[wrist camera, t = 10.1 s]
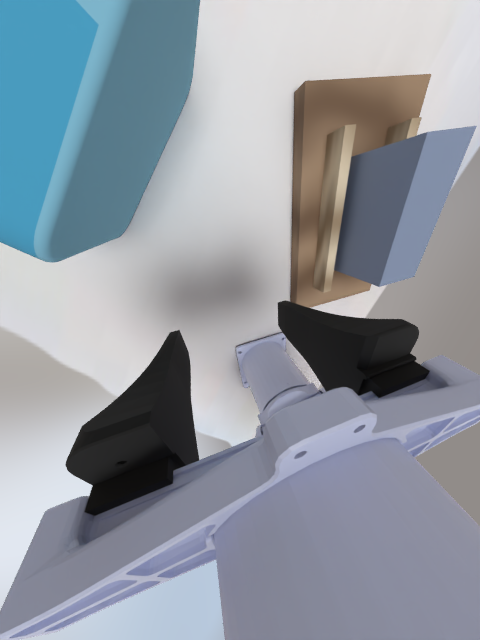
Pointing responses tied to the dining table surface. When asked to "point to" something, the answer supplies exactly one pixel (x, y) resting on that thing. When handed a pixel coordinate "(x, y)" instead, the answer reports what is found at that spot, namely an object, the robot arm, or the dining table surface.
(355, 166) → the slate blue book
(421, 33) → the dining table surface
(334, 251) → the shelf board
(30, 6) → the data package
